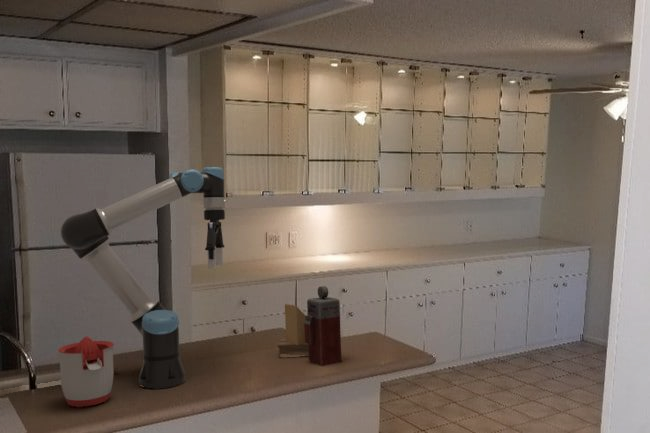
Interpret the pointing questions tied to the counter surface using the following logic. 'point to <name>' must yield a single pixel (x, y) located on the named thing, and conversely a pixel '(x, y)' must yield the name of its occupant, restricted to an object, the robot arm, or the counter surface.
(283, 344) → the walnut stand
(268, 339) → the counter surface
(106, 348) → the citrus juicer
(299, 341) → the sandwich container
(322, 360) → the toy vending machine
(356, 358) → the counter surface
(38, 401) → the counter surface
